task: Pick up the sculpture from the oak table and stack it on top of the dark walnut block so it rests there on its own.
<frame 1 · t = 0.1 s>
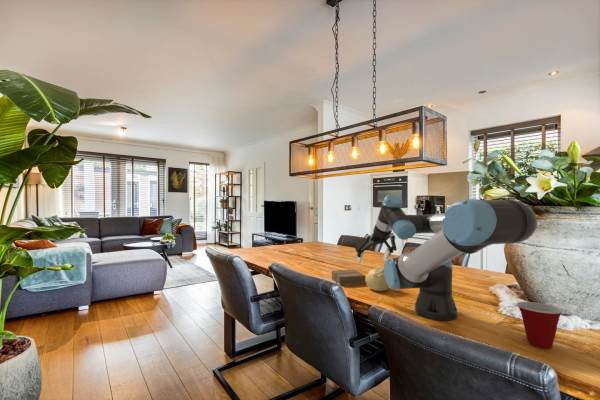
hand: (371, 260, 138), 15 cm above the table, tool tilted 35°, fingers open, 13 cm apart
plastic cup: (539, 344, 87), on the table
walnut block: (348, 282, 155), on the table
sculpture: (378, 289, 142), on the table
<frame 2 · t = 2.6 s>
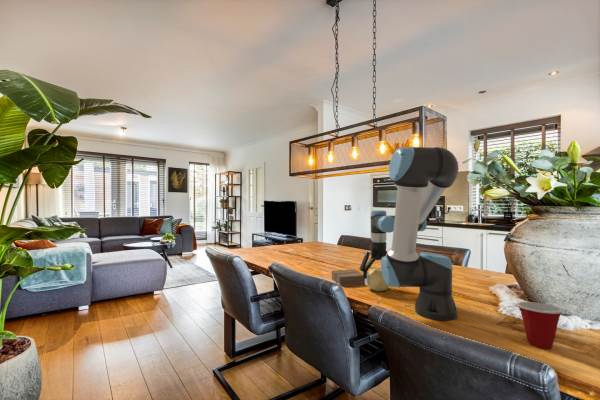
hand: (378, 284, 142), 2 cm above the table, tool pointing down, fingers closed on sculpture, 12 cm apart
sculpture: (378, 289, 142), on the table, touching gripper
everything else where it was.
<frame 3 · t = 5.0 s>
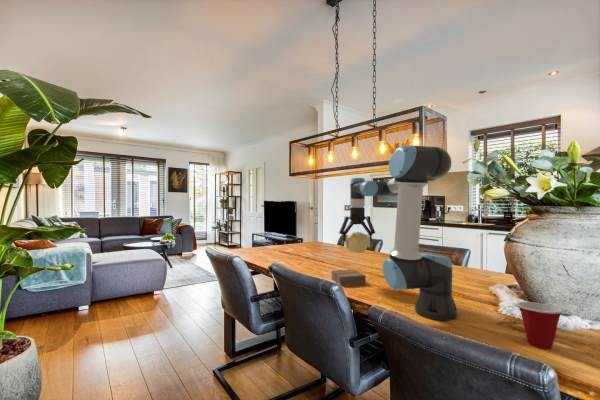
hand: (357, 247, 152), 19 cm above the table, tool pointing down, fingers closed on sculpture, 12 cm apart
sculpture: (356, 252, 152), point 17 cm above the table, touching gripper
everything else where it was.
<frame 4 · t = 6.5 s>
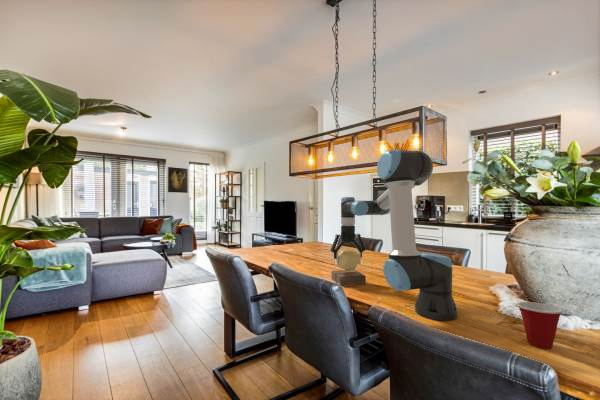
hand: (347, 264, 155), 9 cm above the table, tool pointing down, fingers closed on sculpture, 12 cm apart
sculpture: (347, 269, 155), point 7 cm above the table, touching gripper
everything else where it was.
when the fingers open (8 cm above the table, at t = 7.4 s): sculpture stays where it is, resting on walnut block.
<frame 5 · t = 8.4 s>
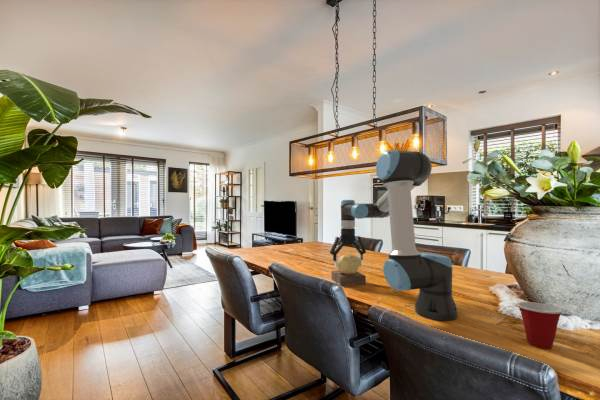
hand: (348, 266, 155), 8 cm above the table, tool pointing down, fingers open, 13 cm apart
walnut block: (348, 282, 155), on the table, touching sculpture
sculpture: (348, 273, 155), point 4 cm above the table, touching walnut block
everything else where it was.
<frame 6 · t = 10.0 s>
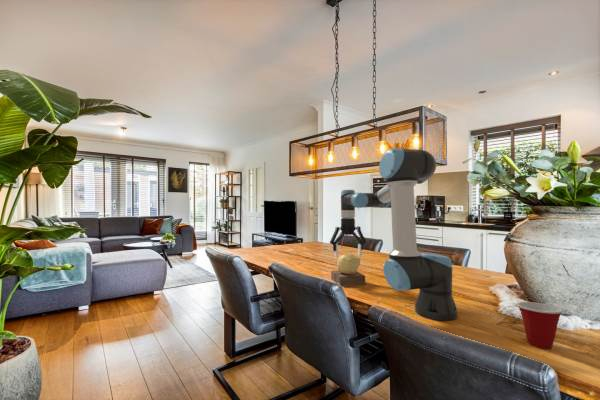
hand: (348, 256, 155), 14 cm above the table, tool pointing down, fingers open, 13 cm apart
nothing on the table moved.
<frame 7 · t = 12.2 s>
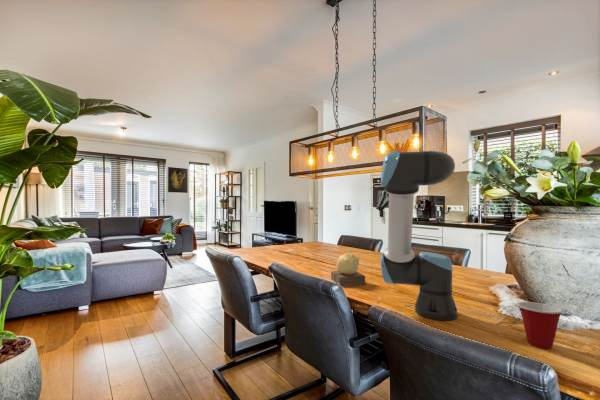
hand: (394, 223, 145), 33 cm above the table, tool pointing down, fingers open, 13 cm apart
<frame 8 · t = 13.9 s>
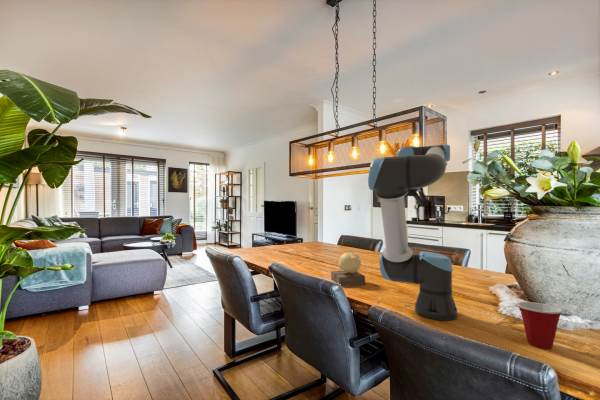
hand: (409, 219, 143), 35 cm above the table, tool pointing down, fingers open, 13 cm apart
walnut block: (347, 282, 155), on the table
sculpture: (347, 271, 155), point 5 cm above the table
everything else where it was.
at the end: sculpture inside the target area on the walnut block (0.3 cm from its centre), point 6.0 cm above the walnut block's base; sculpture tilted 14°; the gripper is holding nothing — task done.
